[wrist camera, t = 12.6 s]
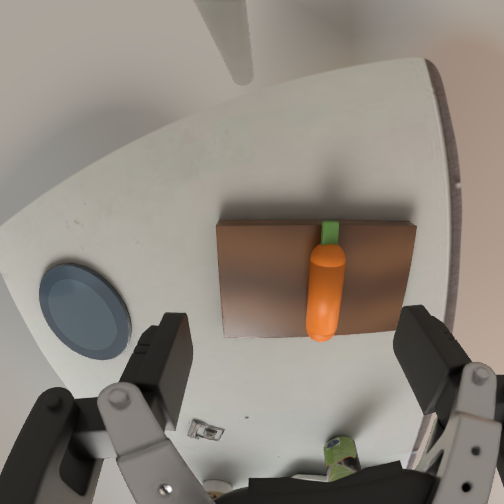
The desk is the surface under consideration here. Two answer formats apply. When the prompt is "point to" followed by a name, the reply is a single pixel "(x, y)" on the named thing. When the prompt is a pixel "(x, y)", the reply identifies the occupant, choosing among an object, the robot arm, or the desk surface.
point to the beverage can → (341, 458)
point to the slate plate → (85, 311)
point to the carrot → (325, 284)
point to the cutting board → (297, 275)
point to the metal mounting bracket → (208, 433)
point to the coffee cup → (216, 488)
